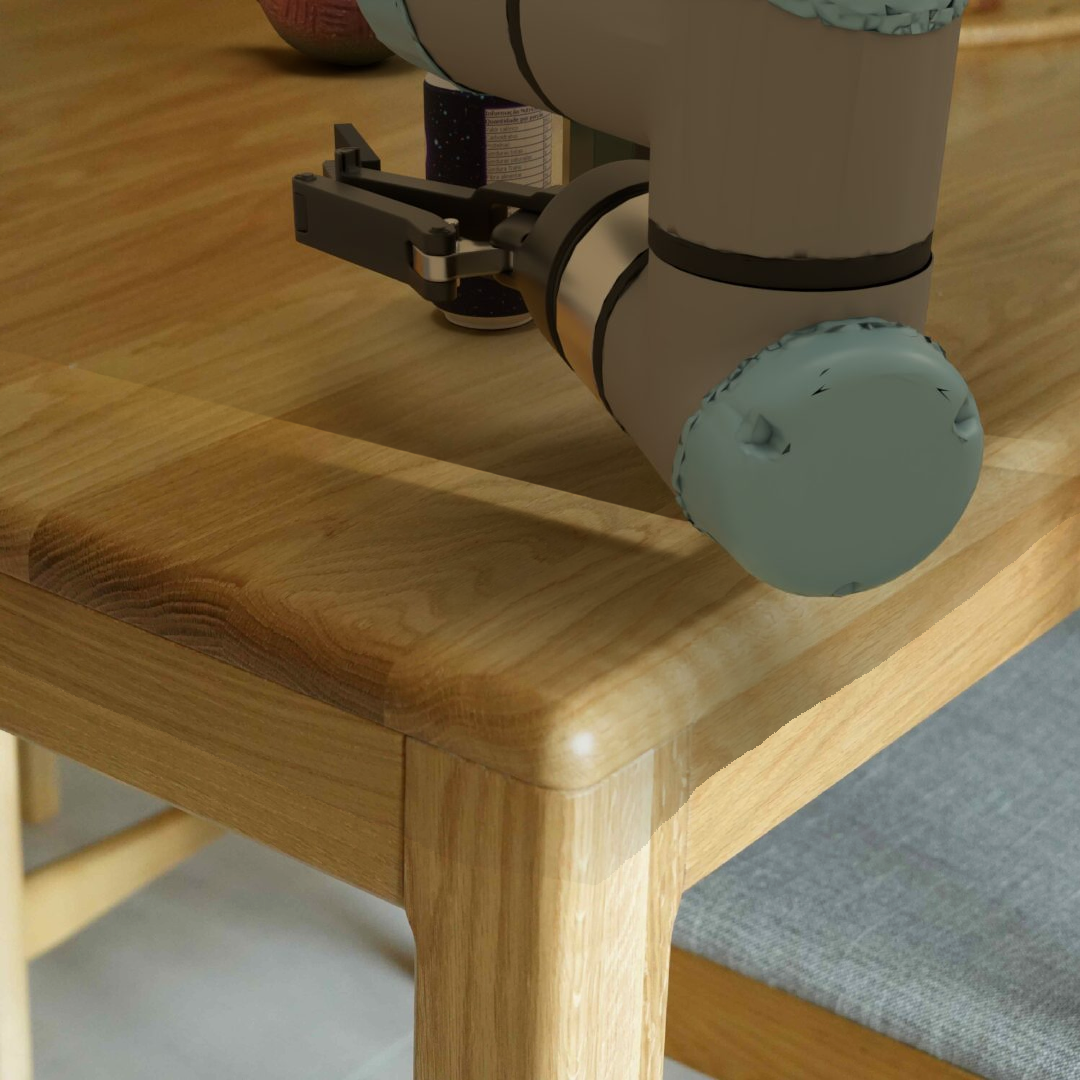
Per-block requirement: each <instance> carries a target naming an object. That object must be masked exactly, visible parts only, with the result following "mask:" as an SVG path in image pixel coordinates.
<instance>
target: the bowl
mask: <svg viewBox="0 0 1080 1080" xmlns="http://www.w3.org/2000/svg"><path fill="white" fill-rule="evenodd" d="M255 1H256V2H257V3H258V4H259V6H260V7H261V9H262V11H263V13H264V14H265V16H266V18H267V20H268V22H269V23H270V25H271V26H272V29H274V31H275V32H276V33H277V35H278V36H279V38H281V39H282V41H284V42H285V43H286V44H287V45H289V46H290V47H292V48H293V49H294V50H296V51H298V52H299V53H301V54H303V55H305V56H307V57H310V58H312V59H315V60H319V61H323V62H328V63H333V64H336V65H340V66H351V67H360V66H361V67H362V66H369V65H372V64H375V63H378V62H380V61H383V60H386V59H389V58H392V57H394V56H397V54H395V53H394V52H393V51H391V50H390V49H389V48H388V47H387V46H386V45H385V44H383V43H382V42H381V41H379V40H378V39H377V38H376V35H375V33H374V31H373V30H372V29H371V27H370V25H369V23H368V22H367V20H366V19H365V17H364V16H363V14H362V12H361V10H360V8H359V5H358V3H357V1H356V0H255Z"/></svg>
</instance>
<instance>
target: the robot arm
mask: <svg viewBox="0 0 1080 1080" xmlns="http://www.w3.org/2000/svg"><path fill="white" fill-rule="evenodd" d="M356 1H357V3H358V5H359V8H360V10H361V12H362V14H363V16H364V17H365V19H366V20H367V22H368V23H369V25H370V27H371V29H372V30H373V31H374V33H375V35H376V38H377V39H378V40H379V41H381V42H382V43H383V44H385V45H386V46H387V47H388V48H389V49H390V50H391V51H393V52H394V53H395V54H396V56H398V57H400V58H401V59H403V60H405V61H406V62H408V63H410V64H411V65H413V66H415V67H417V68H419V69H422V70H423V71H425V72H427V73H428V72H429V73H431V74H434V75H436V76H438V77H440V78H441V79H444V80H446V81H448V82H450V83H452V84H453V85H454V86H455V87H457V88H458V89H459V90H460V91H465V92H471V93H473V94H474V95H477V96H479V95H488V96H497V97H500V98H504V99H507V100H510V101H514V102H517V103H520V104H524V105H527V106H530V107H534V108H537V109H540V110H544V111H547V112H550V113H552V115H553V114H554V115H557V116H561V117H562V118H563V117H564V118H566V119H568V120H571V121H573V122H575V123H578V124H582V125H585V126H587V127H590V128H593V129H596V130H599V131H602V132H605V133H607V134H610V135H613V136H616V137H619V138H622V139H625V140H628V141H631V142H634V143H635V160H623V161H617V162H612V163H608V164H605V165H602V166H599V167H597V168H594V169H592V170H590V171H588V172H586V173H584V174H582V175H581V176H579V177H577V178H576V179H574V180H573V181H571V182H570V183H569V184H568V185H566V186H564V185H562V184H554V185H551V187H549V188H546V189H543V188H538V187H533V186H527V185H522V184H516V183H511V182H506V181H496V182H494V183H491V184H488V185H486V186H483V187H480V188H478V189H472V188H467V187H462V186H457V185H451V184H446V183H441V182H436V181H430V180H426V178H419V177H416V176H415V177H414V176H409V175H404V174H399V173H394V172H389V171H383V170H382V166H381V165H382V164H381V158H380V157H379V156H378V155H377V154H376V152H375V151H374V149H372V148H371V146H370V145H369V144H368V142H367V141H366V140H365V138H364V137H363V136H362V135H361V133H360V132H359V131H358V130H357V128H356V127H355V126H354V125H353V124H352V122H345V123H334V124H333V132H334V135H333V136H334V137H333V138H334V152H333V153H334V155H333V156H334V159H325V160H324V161H323V162H322V163H321V166H322V175H320V174H315V173H313V172H301V173H297V174H295V175H294V176H292V177H291V187H292V191H291V192H292V206H293V208H292V209H293V210H292V211H293V220H294V221H293V222H294V223H293V224H294V236H295V237H294V238H295V242H297V243H299V244H301V245H304V246H307V247H310V248H312V249H315V250H318V251H320V252H323V253H325V254H327V255H331V256H333V257H336V258H338V259H341V260H344V261H345V262H349V263H351V264H354V265H357V266H359V267H361V268H364V269H367V270H368V271H369V270H370V271H372V272H375V273H376V274H380V275H381V276H385V277H387V278H390V279H393V280H395V281H398V282H400V283H403V284H406V285H408V286H409V287H410V288H411V289H412V290H413V291H414V292H416V293H417V294H418V295H419V296H420V298H422V299H423V300H425V301H426V302H431V303H432V302H435V303H445V302H450V301H452V300H454V299H456V298H457V287H458V286H459V285H460V278H465V277H474V276H481V277H483V278H487V279H491V280H496V281H498V282H499V283H500V284H502V285H504V286H507V287H510V288H513V289H516V290H518V291H520V292H521V294H522V297H523V299H524V301H525V304H526V306H527V308H528V311H529V313H530V315H531V317H532V319H531V320H532V321H533V322H534V324H535V326H536V328H537V329H538V331H539V332H540V333H541V335H542V336H543V337H544V339H545V340H546V341H547V342H548V343H549V345H550V346H551V347H552V348H553V350H554V351H555V352H556V353H557V354H558V356H559V357H560V358H561V359H562V360H563V362H564V363H565V364H566V365H567V366H568V367H569V368H570V370H571V371H572V372H574V374H576V376H577V377H578V378H579V380H580V381H581V382H582V383H583V384H584V385H585V387H586V388H587V389H588V391H590V393H591V394H592V395H593V396H594V397H595V398H596V399H597V401H599V403H600V404H601V406H602V407H603V408H604V409H605V411H606V412H607V413H608V414H609V415H610V416H611V417H612V418H613V421H615V422H616V424H617V425H618V426H619V428H620V429H621V430H622V432H624V433H625V434H626V435H628V436H629V438H631V440H633V442H634V443H635V445H637V447H638V448H639V449H640V451H641V453H643V455H644V456H645V458H646V459H647V460H648V461H649V463H650V465H652V467H653V468H654V470H655V471H656V473H658V475H659V476H660V478H661V479H662V480H663V481H664V483H665V484H666V485H667V487H668V488H669V489H670V491H671V492H672V493H673V494H674V499H675V501H676V503H677V505H679V507H680V508H681V511H682V513H683V515H684V517H685V519H686V520H687V521H688V522H689V523H690V524H691V525H692V527H693V528H694V529H696V530H697V531H698V532H700V533H701V534H705V535H706V536H707V538H709V539H710V540H713V542H715V543H716V544H717V545H718V546H719V547H720V548H721V549H722V550H723V551H724V552H726V553H727V555H728V556H730V558H732V559H733V560H734V561H735V562H736V563H737V564H738V565H739V566H740V567H742V568H743V569H744V570H745V571H746V572H747V573H748V574H749V575H751V576H753V577H754V578H756V579H757V580H759V581H760V582H761V583H763V584H765V585H767V586H769V587H772V588H774V589H776V590H778V591H782V592H785V593H787V594H791V595H795V596H800V597H805V598H839V599H840V598H843V597H846V596H847V597H848V596H850V595H853V594H858V593H863V592H867V591H870V590H871V591H872V590H874V589H877V588H879V587H881V586H882V587H883V585H887V584H888V583H891V582H893V581H895V580H896V579H898V578H900V577H902V576H903V575H905V574H907V573H909V572H911V571H912V570H913V569H914V568H916V567H917V566H918V565H920V564H921V563H923V561H925V560H927V558H928V557H930V556H931V555H932V554H933V553H934V552H935V551H936V550H937V549H938V548H939V547H940V546H941V545H942V544H943V542H944V541H945V540H946V539H947V538H948V537H950V536H949V535H951V533H952V532H953V530H954V529H955V527H956V526H957V524H958V523H959V521H960V520H961V518H962V516H963V515H964V513H965V511H966V509H967V508H968V506H969V504H970V502H971V500H972V497H973V495H974V493H975V491H976V488H977V485H978V483H979V480H980V479H979V478H980V475H981V472H982V466H983V460H984V450H985V449H984V448H985V447H984V446H985V436H984V435H985V434H984V428H983V425H982V423H981V417H980V413H979V410H978V406H977V403H976V399H975V397H974V395H973V393H972V391H971V389H970V387H969V385H968V382H967V381H966V379H965V378H964V377H963V376H962V374H961V373H960V372H959V371H958V369H956V367H955V366H954V365H953V364H952V363H950V361H948V360H947V355H946V353H947V352H946V351H945V349H944V348H943V347H942V346H941V345H940V344H939V342H935V341H932V338H931V336H927V335H926V325H927V317H928V310H929V309H928V308H929V301H930V293H931V285H932V278H933V270H934V261H935V254H934V253H933V251H932V244H933V236H934V232H935V224H936V216H937V208H938V201H939V193H940V188H941V187H940V186H941V179H942V172H943V163H944V158H945V157H944V156H945V149H946V142H947V141H946V140H947V134H948V127H949V119H950V111H951V103H952V96H953V88H954V81H955V76H956V75H955V74H956V65H957V59H958V52H959V44H960V36H961V29H962V22H963V21H962V20H963V14H964V12H963V11H964V10H965V9H966V8H967V7H968V5H969V0H356ZM508 206H510V207H515V208H520V209H518V210H517V211H516V212H514V213H513V214H512V215H510V216H509V217H508Z"/></svg>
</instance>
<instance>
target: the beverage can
mask: <svg viewBox="0 0 1080 1080" xmlns="http://www.w3.org/2000/svg"><path fill="white" fill-rule="evenodd" d="M422 84H423V85H422V87H423V88H422V91H423V127H424V128H423V131H424V168H425V169H424V170H425V171H424V172H425V180H430V181H436V182H441V183H446V184H451V185H457V186H462V187H467V188H472V189H478V188H480V187H483V186H486V185H488V184H491V183H494V182H496V181H506V182H511V183H516V184H522V185H527V186H533V187H538V188H543V189H546V188H549V187H551V186H552V177H553V176H552V174H553V173H552V172H553V171H552V164H553V163H552V161H553V159H552V158H553V157H552V156H553V113H550V112H547V111H544V110H540V109H537V108H534V107H530V106H527V105H524V104H520V103H517V102H514V101H510V100H507V99H504V98H500V97H497V96H488V95H479V96H477V95H474V94H473V93H471V92H465V91H460V90H459V89H458V88H457V87H455V86H454V85H453V84H452V83H450V82H448V81H446V80H444V79H441V78H440V77H438V76H436V75H434V74H431V73H429V72H427V73H426V75H425V77H424V80H423V82H422ZM518 209H520V208H515V207H510V206H508V217H509V216H510V215H512V214H513V213H514V212H516V211H517V210H518ZM431 303H432V304H433V305H434V306H435V307H436V308H437V309H438V310H439V311H441V313H443V314H444V316H445V319H447V320H448V321H449V322H450V323H452V324H455V325H457V326H461V327H464V328H469V329H476V330H501V329H509V328H514V327H519V326H522V325H524V324H527V323H528V322H530V321H531V320H533V319H532V317H531V315H530V313H529V311H528V308H527V306H526V304H525V301H524V299H523V297H522V294H521V292H520V291H518V290H516V289H513V288H510V287H507V286H504V285H502V284H500V283H499V282H498V281H496V280H491V279H487V278H483V277H481V276H474V277H465V278H460V285H459V286H458V287H457V298H456V299H454V300H452V301H450V302H445V303H435V302H431Z"/></svg>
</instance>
